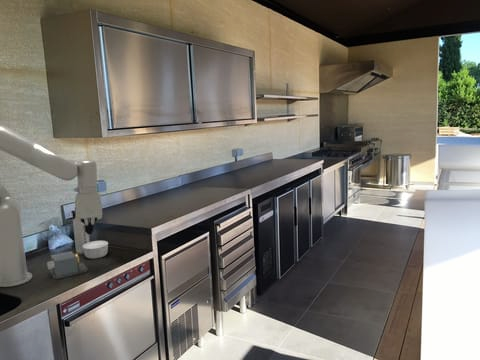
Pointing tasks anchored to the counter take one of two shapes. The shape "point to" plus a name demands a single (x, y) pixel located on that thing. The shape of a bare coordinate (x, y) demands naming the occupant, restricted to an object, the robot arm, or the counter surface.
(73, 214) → the travel mug
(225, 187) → the counter surface
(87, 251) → the ramekin
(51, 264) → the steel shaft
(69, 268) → the bearing housing
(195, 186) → the counter surface
